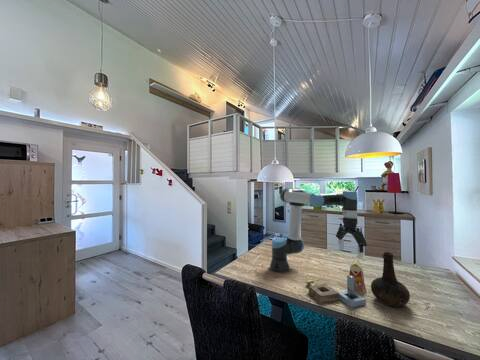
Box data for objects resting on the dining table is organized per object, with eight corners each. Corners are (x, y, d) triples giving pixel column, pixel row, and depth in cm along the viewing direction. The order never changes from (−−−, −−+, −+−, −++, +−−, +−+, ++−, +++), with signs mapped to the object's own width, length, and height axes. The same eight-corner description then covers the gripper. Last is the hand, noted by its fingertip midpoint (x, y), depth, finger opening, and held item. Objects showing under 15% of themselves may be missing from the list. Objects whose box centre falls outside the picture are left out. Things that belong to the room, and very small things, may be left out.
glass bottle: (410, 301, 117) (409, 252, 118) (409, 316, 104) (408, 261, 104) (374, 290, 129) (373, 246, 129) (368, 303, 115) (367, 253, 116)
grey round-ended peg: (345, 299, 119) (345, 275, 119) (351, 298, 120) (351, 274, 120) (351, 303, 115) (350, 278, 115) (357, 302, 116) (356, 277, 116)
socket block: (308, 292, 127) (308, 286, 127) (325, 289, 130) (325, 283, 130) (321, 303, 115) (321, 296, 116) (339, 299, 119) (338, 292, 119)
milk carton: (350, 285, 136) (349, 255, 137) (366, 289, 130) (365, 258, 131) (347, 290, 129) (346, 258, 130) (364, 295, 123) (363, 262, 124)
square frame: (337, 297, 121) (337, 292, 121) (351, 295, 124) (351, 290, 124) (351, 307, 111) (351, 302, 111) (365, 304, 114) (365, 299, 114)
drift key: (306, 285, 136) (306, 280, 136) (312, 284, 137) (312, 279, 137) (314, 291, 127) (314, 287, 127) (320, 290, 129) (320, 286, 129)
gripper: (329, 214, 130) (329, 247, 129) (363, 221, 106) (363, 262, 105) (339, 213, 132) (339, 246, 131) (374, 220, 108) (374, 261, 107)
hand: (350, 253), depth 118 cm, fingers open, 13 cm apart
